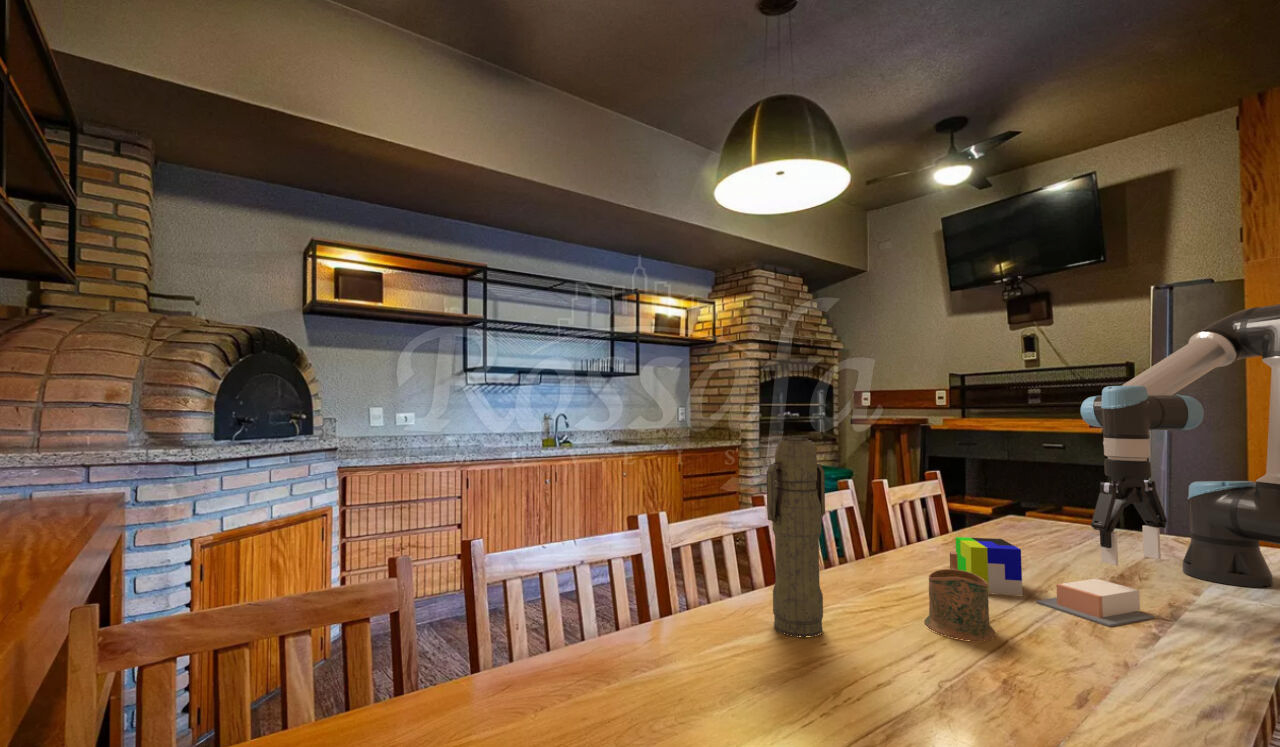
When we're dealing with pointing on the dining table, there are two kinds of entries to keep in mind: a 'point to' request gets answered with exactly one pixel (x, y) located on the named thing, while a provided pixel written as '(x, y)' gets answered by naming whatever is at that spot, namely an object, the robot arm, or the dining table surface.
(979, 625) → the brown hat
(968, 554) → the puzzle toy
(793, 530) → the robed figure statue
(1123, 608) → the tall block
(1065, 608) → the mat
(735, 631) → the dining table surface
